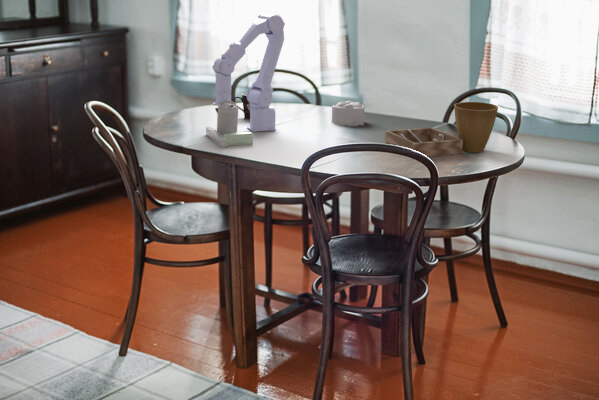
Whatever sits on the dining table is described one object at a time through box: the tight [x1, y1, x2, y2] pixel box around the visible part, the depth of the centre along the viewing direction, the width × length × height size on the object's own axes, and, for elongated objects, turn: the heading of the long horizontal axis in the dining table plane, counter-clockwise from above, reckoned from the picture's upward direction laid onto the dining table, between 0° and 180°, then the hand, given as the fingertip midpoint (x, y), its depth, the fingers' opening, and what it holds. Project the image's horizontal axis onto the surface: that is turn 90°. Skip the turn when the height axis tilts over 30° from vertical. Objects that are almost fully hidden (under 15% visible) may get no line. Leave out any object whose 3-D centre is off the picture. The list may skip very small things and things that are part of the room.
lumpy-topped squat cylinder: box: [331, 100, 365, 127], centre depth 308 cm, size 10×13×9 cm
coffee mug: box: [232, 92, 250, 121], centre depth 316 cm, size 12×9×10 cm
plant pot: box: [453, 101, 499, 153], centre depth 265 cm, size 15×15×16 cm
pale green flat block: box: [205, 126, 254, 149], centre depth 277 cm, size 12×22×4 cm, turn 21°
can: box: [216, 100, 239, 136], centre depth 281 cm, size 8×8×12 cm
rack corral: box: [384, 127, 463, 158], centre depth 267 cm, size 19×21×5 cm
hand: (223, 126), depth 287 cm, fingers closed, pressing on can
